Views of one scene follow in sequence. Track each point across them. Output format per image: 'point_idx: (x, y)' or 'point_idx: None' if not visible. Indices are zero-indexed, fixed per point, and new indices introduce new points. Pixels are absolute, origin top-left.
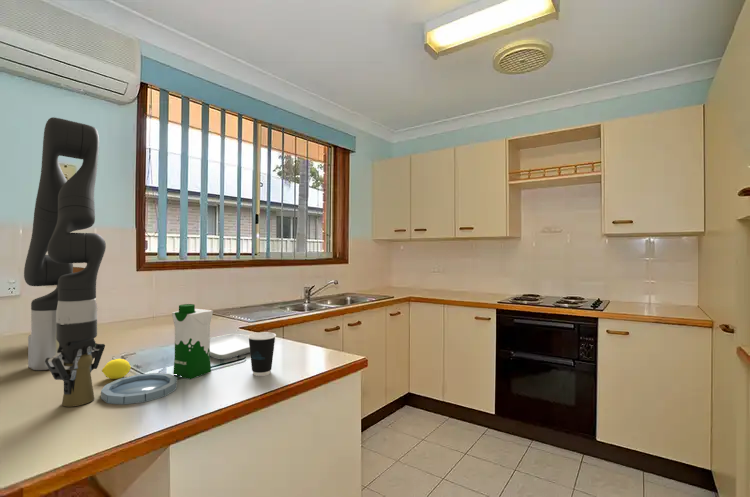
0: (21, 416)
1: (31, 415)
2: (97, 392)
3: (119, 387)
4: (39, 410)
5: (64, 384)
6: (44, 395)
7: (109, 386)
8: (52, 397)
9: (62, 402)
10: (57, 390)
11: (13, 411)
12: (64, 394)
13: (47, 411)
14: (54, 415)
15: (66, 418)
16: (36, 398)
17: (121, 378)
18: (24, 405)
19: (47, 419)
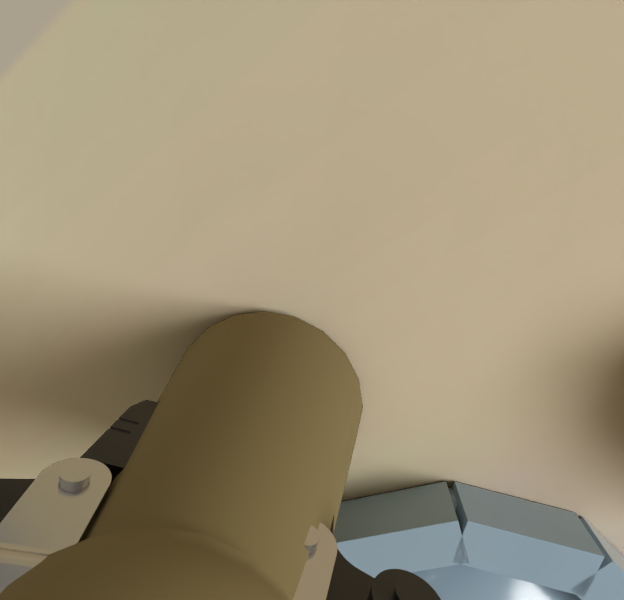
0: (29, 173)
1: (50, 231)
2: (452, 428)
3: (470, 576)
4: (128, 225)
5: (87, 456)
6: (437, 28)
7: (418, 561)
8: (378, 141)
9: (200, 338)
10: (560, 60)
11: (102, 34)
12: (170, 383)
13: (115, 293)
14: (61, 376)
15: (31, 466)
16: (367, 7)
17: (618, 570)
18: (215, 26)
19: (7, 372)
